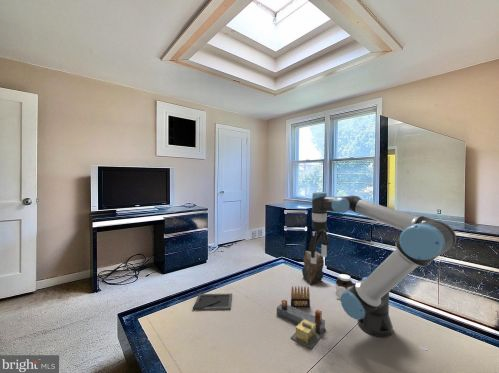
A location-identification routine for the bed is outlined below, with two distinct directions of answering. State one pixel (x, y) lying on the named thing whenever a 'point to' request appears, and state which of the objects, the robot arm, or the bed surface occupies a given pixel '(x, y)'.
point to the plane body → (301, 316)
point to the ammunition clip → (300, 298)
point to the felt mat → (310, 341)
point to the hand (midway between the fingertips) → (319, 259)
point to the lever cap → (305, 331)
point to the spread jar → (343, 284)
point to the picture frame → (213, 302)
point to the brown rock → (313, 268)
